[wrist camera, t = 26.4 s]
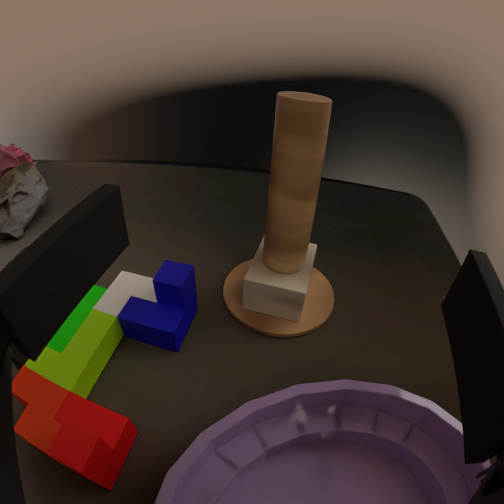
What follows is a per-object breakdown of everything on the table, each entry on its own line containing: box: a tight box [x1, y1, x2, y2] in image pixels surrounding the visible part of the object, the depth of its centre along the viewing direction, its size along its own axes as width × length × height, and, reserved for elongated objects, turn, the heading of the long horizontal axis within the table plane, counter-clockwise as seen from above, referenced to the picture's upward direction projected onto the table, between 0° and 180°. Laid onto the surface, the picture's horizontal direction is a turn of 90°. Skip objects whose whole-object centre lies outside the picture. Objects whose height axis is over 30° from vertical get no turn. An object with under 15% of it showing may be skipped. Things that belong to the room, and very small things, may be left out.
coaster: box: [223, 259, 334, 337], centre depth 26 cm, size 9×9×1 cm
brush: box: [242, 91, 332, 322], centre depth 21 cm, size 6×4×15 cm
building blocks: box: [9, 260, 198, 490], centre depth 18 cm, size 15×13×4 cm
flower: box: [0, 144, 37, 179], centre depth 38 cm, size 11×10×10 cm
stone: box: [0, 161, 48, 239], centre depth 30 cm, size 11×7×10 cm
